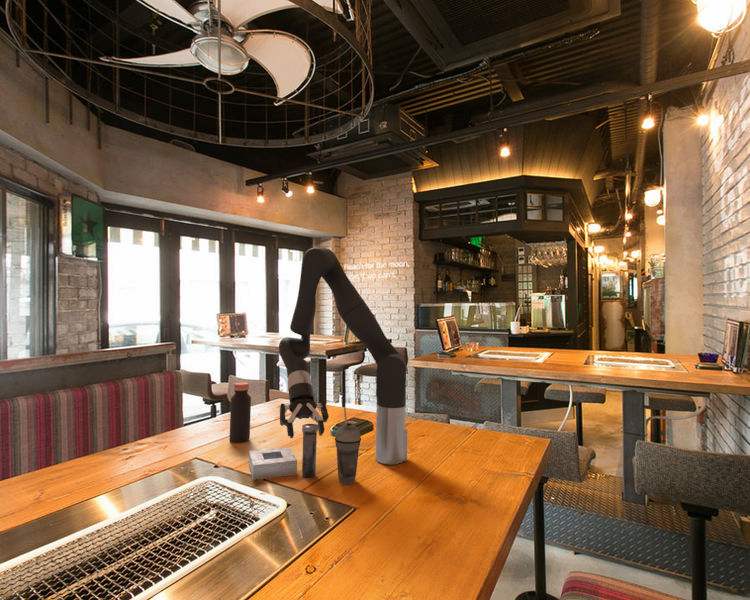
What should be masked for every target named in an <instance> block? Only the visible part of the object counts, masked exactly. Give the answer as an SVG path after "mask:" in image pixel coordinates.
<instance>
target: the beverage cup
mask: <svg viewBox="0 0 750 600" xmlns="http://www.w3.org/2000/svg"><path fill="white" fill-rule="evenodd" d="M346 410H347V409H346V407H343V412H344V413H343V414H344V424H342V425H341V426H339V427H338V429H337V431H336V433H335V438H334V441H335V447H336V459H337V460H336V461H337V463H336V465H337V476H338V483H339V484H340V485H345V486H350V485H353V484H355V482H356V477H357V470H358V469H357V468H358V460H359V452H360V451H359V450H360V447H361V446H360V445H361V441H362V435H361V432H360V430H359V428H358V427H357V426H356V425H354V424H353V423H352V424H351V423H348V422H347V421H348V420H347V411H346Z"/></svg>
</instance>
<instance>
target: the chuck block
mask: <svg viewBox="0 0 750 600" xmlns="http://www.w3.org/2000/svg"><path fill="white" fill-rule="evenodd" d="M248 466H249V470H250V471H249V472H250V475H251V479H252V481H256V479H258V480H264V479H265V480H266V479H271V478H280V477H288V476H295V475H298V473H297V472H298V459H297V457H296V456H295V454H294V452H293V451H292V448H291V447H290V446H282V447H275V448H274V447H273V448H264V449H254V450H249V452H248Z"/></svg>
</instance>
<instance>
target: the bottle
mask: <svg viewBox="0 0 750 600" xmlns="http://www.w3.org/2000/svg"><path fill="white" fill-rule="evenodd" d="M233 386H234V387H233V392H234V394H233V395H232V396H231V398H230V415H229V416H230V417H229V441H230V443H234V444H241V443H245V442H248V441H250V437H251V436H250V435H251V409H252V408H251V407H252V406H251V405H252V404H251V403H252V396H250V394H249V393H248V392H249V388H250V387H249V382H242V381H241V382H235V383H234V385H233Z"/></svg>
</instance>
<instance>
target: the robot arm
mask: <svg viewBox="0 0 750 600" xmlns="http://www.w3.org/2000/svg"><path fill="white" fill-rule="evenodd" d="M299 278H300V279H299V287H298V293H297V300H296V303H295V307H294V311H293V315H292V319H291V321H290V326H289V328H290V331H291V332H293V333H294V334H296V335H299V336H300V338H297V337H289V336H287V337H286V336H285V337H283V338H282V339H281V340H280V342H279V344H278V352H279V353H278V354H279V356H280V358H281V360H282V362H283V364H284V367H285V369H286V374H287V392H288V399H289V400H288V401H289V404H288V405H287V404H286V405H285V403H283V402H282V403H280V406H279V425H280V426H285V427H286V431H287V436H288V437H289V438H290V439H294V435H295V434H294V433H295V431H294V422H295V420H296V419H298V420H303V419H309V418H310V419H311V420H312V421H315V422H316V423H317V425H318V431H317V432H318V436H323V434H324V432H325V426H324V425H325V424H324V423H327V422H328V419H329V417H330V416H329V412H328V408H327V404H326V402H325V401H321V402H316V401H315V396H314V390H313V384H312V378H311V376H310V370H309V363H308V362H307V361H306V358H308V357H309V355H310V352H311V330H312V326H313V323H314V321H315V320H314V319H315V316H316V312H317V311H316V309H317V289H318V286H319V283H320V281H321V278H322V279H323V280H324V281H325V283H326V284H327V286H328V287H329V289H330V290H331V293H332V294H333V298H334V302H335V306H336V310H337V312H338V315H339V316H340V318H341V319H342V320H343V323H344V324H345V325H346V327H347V328H348V330H349V331H350V332H351V333H352V335H353V336H355V337H356V339H358V341H360V343H361V344H362V345H364V347H365V348H366V349H367V351H369V354H370V355H371V356H372V359H373V360H374V362H375V364H376V372H375V373H376V377H375V380H376V384H375V385H376V389H375V390H376V391H375V394H376V395H375V396H376V416H375V417H376V418H375V419H376V421H375V422H376V423H375V427H376V428H375V452H374V455H375V461H376V462H378V463H381V464H383V465H391V466H392V465H399V463H400V464H401V463H403V461H404V462H407V461H408V436H409V435H408V434H409V433H408V429H406V414H407V413H406V409H407V408H406V403H407V395H406V393H407V392H406V390H407V371H408V370H407V369H408V367H407V366H408V365H407V363H406V360H405V358H404V357H403V356H402V354H400V353H399V351H398V350H397V349H396V348H395V347H394V345H393V344H392V342H390V340H389V339H388V338H387V336H386V335H385V333H384V331H383V329H382V328H381V326H380V323H379V322H378V320H377V319H376V317H375V316H374V314H373V312H372V310H371V308H369V306H368V304H367V303H366V302H365V300H364V299H363V297H362V296H361V295H360V292H358V290H357V289H356V287H355V286H354V285H353V283H352V282H351V281H350V279H349V277H348V276H347V274H346V273H345V271H344V269H343V266H342V265H341V263H340V261H339V259H338V257H337V255H336V254H335V253H334V252H333V251H332V249H330V248H327V247H312V248H309V249H307V250H306V251H305V253H304V254H303V257H302V262H301V269H300V277H299ZM317 409H318V410H319V411H320V414H321V415H320V414H319V411H318V410H317ZM288 411H289V412H290V413H291V415H290V416H289V418H288V419H287V418H286V414H287V412H288Z"/></svg>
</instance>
